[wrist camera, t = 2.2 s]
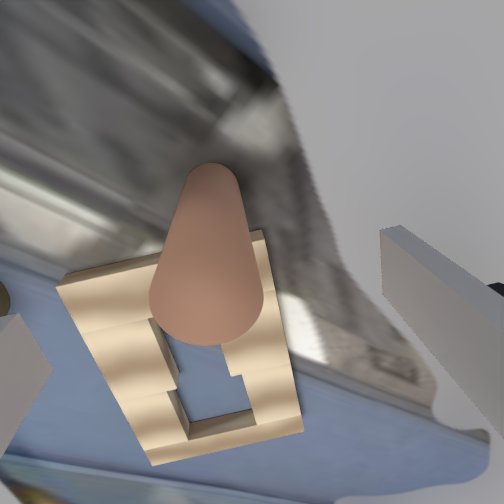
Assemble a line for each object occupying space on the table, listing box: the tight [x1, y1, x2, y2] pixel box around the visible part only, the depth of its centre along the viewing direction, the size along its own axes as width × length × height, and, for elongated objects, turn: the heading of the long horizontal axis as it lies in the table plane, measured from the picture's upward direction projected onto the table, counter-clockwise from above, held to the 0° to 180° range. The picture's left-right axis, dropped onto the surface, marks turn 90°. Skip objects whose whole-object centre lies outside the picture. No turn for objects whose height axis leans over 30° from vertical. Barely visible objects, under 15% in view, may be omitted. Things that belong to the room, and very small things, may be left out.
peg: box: [149, 163, 264, 346], centre depth 19 cm, size 4×4×15 cm
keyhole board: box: [56, 230, 304, 466], centre depth 31 cm, size 22×16×2 cm
